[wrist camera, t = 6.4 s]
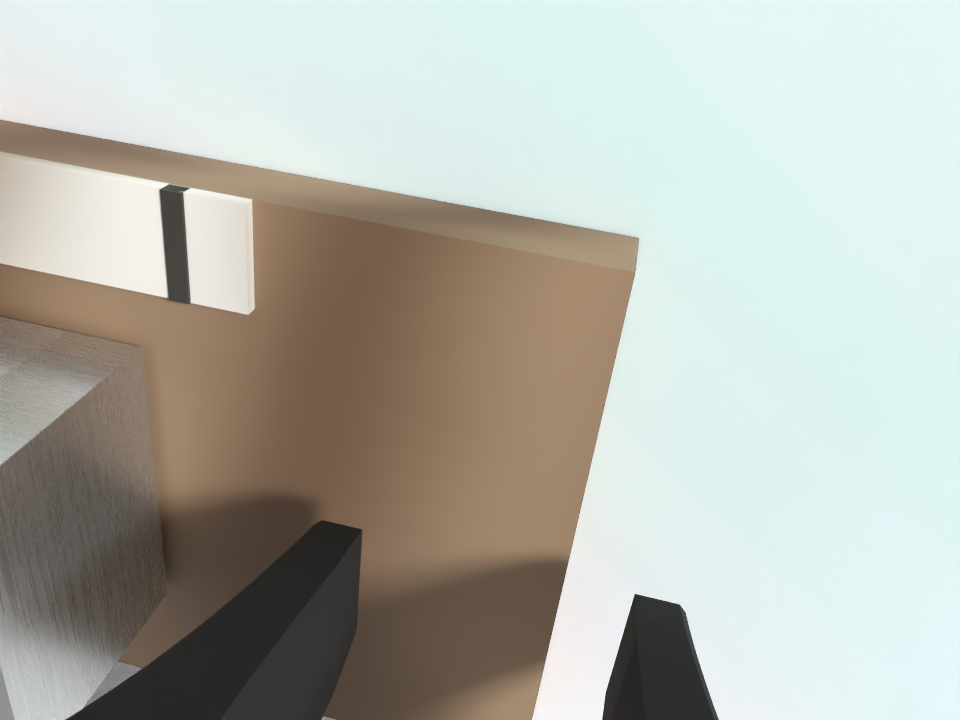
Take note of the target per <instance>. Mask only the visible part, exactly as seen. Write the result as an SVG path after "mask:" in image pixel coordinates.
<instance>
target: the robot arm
mask: <svg viewBox="0 0 960 720" xmlns="http://www.w3.org/2000/svg"><path fill="white" fill-rule="evenodd" d="M362 530H363V529H358V528H354V527H350V526H346V525H342V524H337V523H333V522H329V521H325V520H321V521H319V522H318V523H316V524H314V525H313V526H312V527H311V528H310V529H309V530H308V531H307V532H306V533H305V534H304V535H303V536H302V537H301V538H300V539H299V540H297V541H296V542H295V543H294V544H293V545H292V546H291V547H290V548H289V549H288V550H287V551H286V552H285V553H284V554H283V555H281V556H280V557H279V558H278V559H277V560H276V561H275V562H274V563H273V564H272V565H270V566H269V567H268V568H267V569H266V570H265V571H264V572H263V573H262V574H260V575H259V576H258V577H257V578H256V579H255V580H254V581H253V582H251V583H250V584H249V585H248V586H247V587H245V588H244V589H243V590H242V591H241V592H240V593H238V594H237V595H236V596H235V597H234V598H232V599H231V600H230V601H229V602H228V603H226V604H225V605H224V606H223V607H222V608H221V609H219V610H218V611H217V612H216V613H215V614H213V615H212V616H211V617H210V618H208V619H207V620H206V621H205V622H204V623H202V624H201V625H200V626H198V627H197V628H196V629H195V630H193V631H192V632H191V633H189V634H188V635H187V636H185V637H184V638H183V639H181V640H180V641H179V642H177V643H176V644H175V645H173V646H172V647H171V648H170V649H168V650H167V651H166V652H164V653H163V654H162V655H160V656H159V657H158V658H156V659H155V660H154V661H152V662H151V663H150V664H148V665H147V666H145V667H144V668H143V669H141V670H140V671H138V672H137V673H136V674H134V675H133V676H131V677H130V678H128V679H127V680H126V681H124V682H123V683H121V684H120V685H118V686H117V687H115V688H114V689H112V690H111V691H109V692H108V693H106V694H105V695H103V696H102V697H100V698H99V699H97V700H95V701H94V702H92V703H91V704H89V705H88V706H86V707H85V708H83V709H82V710H80V711H78V712H77V713H75V714H74V715H72V716H70V717H69V718H67V719H65V720H321V719H322V717H323V714H324V712H325V710H326V708H327V706H328V704H329V702H330V700H331V698H332V696H333V693H334V690H335V688H336V685H337V682H338V680H339V677H340V674H341V672H342V669H343V666H344V664H345V661H346V658H347V655H348V652H349V650H350V647H351V644H352V641H353V638H354V636H355V633H356V630H357V615H358V598H359V581H360V564H361V547H362ZM602 720H719V719H718V717H717V714H716V711H715V708H714V706H713V703H712V700H711V697H710V694H709V691H708V688H707V685H706V682H705V679H704V676H703V673H702V670H701V667H700V664H699V661H698V658H697V654H696V651H695V647H694V644H693V641H692V637H691V633H690V629H689V625H688V621H687V617H686V613H685V611H684V610H683V609H682V607H681V606H680V605H679V604H675V603H671V602H667V601H662V600H658V599H654V598H650V597H645V596H641V595H637V594H635V596H634V599H633V602H632V606H631V609H630V613H629V616H628V619H627V623H626V626H625V629H624V633H623V636H622V640H621V643H620V646H619V650H618V653H617V657H616V660H615V663H614V667H613V670H612V674H611V677H610V680H609V684H608V687H607V691H606V696H605V704H604V711H603V719H602Z"/></svg>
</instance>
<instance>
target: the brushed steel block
mask: <svg viewBox="0 0 960 720" xmlns="http://www.w3.org/2000/svg"><path fill="white" fill-rule="evenodd" d="M166 595H167V583H166V573H165V564H164V554H163V545H162V535H161V525H160V516H159V506H158V496H157V487H156V477H155V467H154V458H153V448H152V438H151V429H150V419H149V409H148V400H147V390H146V380H145V371H144V361H143V351H142V347H139V346H134V345H129V344H125V343H120V342H115V341H111V340H106V339H102V338H97V337H92V336H88V335H83V334H78V333H74V332H69V331H65V330H60V329H55V328H51V327H46V326H42V325H37V324H32V323H28V322H23V321H18V320H14V319H9V318H5V317H0V720H65V719H67V718H69V717H70V716H72V715H74V714H75V713H77V712H78V711H80V710H82V709H83V707H84V706H85V705H86V703H87V702H88V701H89V699H90V698H91V697H92V695H93V694H94V692H95V691H96V690H97V688H98V687H99V686H100V684H101V683H102V682H103V680H104V679H105V677H106V676H107V675H108V673H109V672H110V671H111V669H112V668H113V667H114V665H115V664H116V663H117V661H118V660H119V658H120V657H121V656H122V654H123V653H124V652H125V650H126V649H127V648H128V646H129V645H130V644H131V642H132V641H133V639H134V638H135V637H136V635H137V634H138V633H139V631H140V630H141V629H142V627H143V626H144V625H145V623H146V622H147V620H148V619H149V618H150V616H151V615H152V614H153V612H154V611H155V610H156V608H157V607H158V606H159V604H160V603H161V601H162V600H163V599H164V597H165V596H166Z"/></svg>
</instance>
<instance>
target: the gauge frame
mask: <svg viewBox="0 0 960 720" xmlns="http://www.w3.org/2000/svg"><path fill="white" fill-rule="evenodd" d="M638 244H639V238H636V237H631V236H625V235H620V234H614V233H609V232H604V231H598V230H593V229H587V228H582V227H577V226H571V225H566V224H560V223H555V222H550V221H544V220H539V219H533V218H528V217H523V216H517V215H512V214H506V213H501V212H496V211H490V210H485V209H479V208H474V207H469V206H463V205H458V204H452V203H447V202H442V201H436V200H431V199H425V198H420V197H415V196H409V195H404V194H398V193H393V192H388V191H382V190H377V189H371V188H366V187H361V186H355V185H350V184H344V183H339V182H334V181H328V180H323V179H317V178H312V177H307V176H301V175H296V174H290V173H285V172H279V171H274V170H269V169H263V168H258V167H252V166H247V165H242V164H236V163H231V162H225V161H220V160H215V159H209V158H204V157H198V156H193V155H188V154H182V153H177V152H171V151H166V150H161V149H155V148H150V147H144V146H139V145H134V144H128V143H123V142H117V141H112V140H107V139H101V138H96V137H90V136H85V135H80V134H74V133H69V132H63V131H58V130H53V129H47V128H42V127H36V126H31V125H26V124H20V123H15V122H9V121H4V120H0V317H5V318H9V319H14V320H18V321H23V322H28V323H32V324H37V325H42V326H46V327H51V328H55V329H60V330H65V331H69V332H74V333H78V334H83V335H88V336H92V337H97V338H102V339H106V340H111V341H115V342H120V343H125V344H129V345H134V346H139V347H142V351H143V361H144V371H145V380H146V390H147V400H148V409H149V419H150V429H151V438H152V448H153V458H154V467H155V477H156V487H157V496H158V506H159V516H160V525H161V535H162V545H163V554H164V564H165V573H166V583H167V595H166V596H165V597H164V599H163V600H162V601H161V603H160V604H159V606H158V607H157V608H156V610H155V611H154V612H153V614H152V615H151V616H150V618H149V619H148V620H147V622H146V623H145V625H144V626H143V627H142V629H141V630H140V631H139V633H138V634H137V635H136V637H135V638H134V639H133V641H132V642H131V644H130V645H129V646H128V648H127V649H126V650H125V652H124V653H123V654H122V656H121V657H120V658H119V660H118V661H119V662H123V663H127V664H130V665H134V666H138V667H142V668H144V667H145V666H147V665H148V664H150V663H151V662H152V661H154V660H155V659H156V658H158V657H159V656H160V655H162V654H163V653H164V652H166V651H167V650H168V649H170V648H171V647H172V646H173V645H175V644H176V643H177V642H179V641H180V640H181V639H183V638H184V637H185V636H187V635H188V634H189V633H191V632H192V631H193V630H195V629H196V628H197V627H198V626H200V625H201V624H202V623H204V622H205V621H206V620H207V619H208V618H210V617H211V616H212V615H213V614H215V613H216V612H217V611H218V610H219V609H221V608H222V607H223V606H224V605H225V604H226V603H228V602H229V601H230V600H231V599H232V598H234V597H235V596H236V595H237V594H238V593H240V592H241V591H242V590H243V589H244V588H245V587H247V586H248V585H249V584H250V583H251V582H253V581H254V580H255V579H256V578H257V577H258V576H259V575H260V574H262V573H263V572H264V571H265V570H266V569H267V568H268V567H269V566H270V565H272V564H273V563H274V562H275V561H276V560H277V559H278V558H279V557H280V556H281V555H283V554H284V553H285V552H286V551H287V550H288V549H289V548H290V547H291V546H292V545H293V544H294V543H295V542H296V541H297V540H299V539H300V538H301V537H302V536H303V535H304V534H305V533H306V532H307V531H308V530H309V529H310V528H311V527H312V526H313V525H314V524H316V523H318V522H319V521H321V520H325V521H329V522H333V523H337V524H342V525H346V526H350V527H354V528H358V529H363V530H362V547H361V564H360V581H359V598H358V615H357V630H356V633H355V636H354V638H353V641H352V644H351V647H350V650H349V652H348V655H347V658H346V661H345V664H344V666H343V669H342V672H341V674H340V677H339V680H338V682H337V685H336V688H335V690H334V693H333V696H332V698H331V700H330V702H329V704H328V706H327V708H326V710H325V712H324V714H323V716H325V717H329V718H333V719H337V720H532V717H533V713H534V708H535V704H536V700H537V695H538V691H539V687H540V682H541V678H542V674H543V669H544V665H545V661H546V656H547V652H548V648H549V643H550V639H551V635H552V630H553V626H554V622H555V617H556V613H557V609H558V604H559V600H560V596H561V592H562V587H563V583H564V579H565V574H566V570H567V566H568V561H569V557H570V553H571V548H572V544H573V540H574V535H575V531H576V527H577V522H578V518H579V514H580V509H581V505H582V501H583V496H584V492H585V488H586V483H587V479H588V475H589V470H590V466H591V462H592V457H593V453H594V449H595V444H596V440H597V436H598V432H599V427H600V423H601V419H602V414H603V410H604V406H605V401H606V397H607V393H608V388H609V384H610V380H611V375H612V371H613V367H614V362H615V358H616V354H617V349H618V345H619V341H620V336H621V332H622V328H623V323H624V319H625V315H626V310H627V306H628V302H629V297H630V293H631V289H632V284H633V280H634V276H635V271H636V262H637V253H638Z"/></svg>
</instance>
